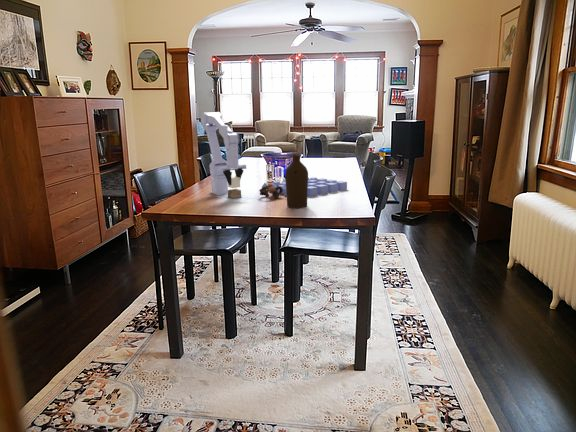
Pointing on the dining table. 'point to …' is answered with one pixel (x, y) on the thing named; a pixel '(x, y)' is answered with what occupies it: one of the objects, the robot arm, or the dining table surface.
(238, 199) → the board
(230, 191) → the walnut base block
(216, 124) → the robot arm
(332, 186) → the blocks
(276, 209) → the dining table surface
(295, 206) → the olive oil
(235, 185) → the ivory block
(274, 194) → the dark brown figurine
